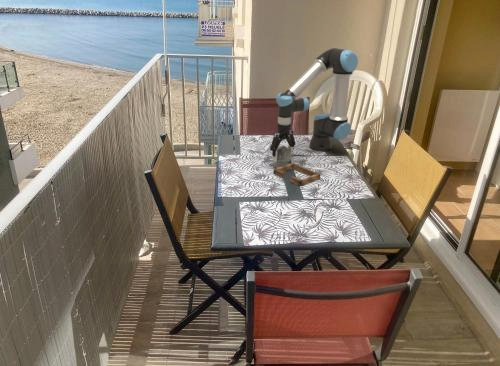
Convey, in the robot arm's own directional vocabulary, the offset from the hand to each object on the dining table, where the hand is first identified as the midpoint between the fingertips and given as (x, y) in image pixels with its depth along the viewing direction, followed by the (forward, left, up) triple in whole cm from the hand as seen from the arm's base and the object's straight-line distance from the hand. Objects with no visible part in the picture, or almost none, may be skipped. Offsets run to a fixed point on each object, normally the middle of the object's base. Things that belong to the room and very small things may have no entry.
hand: (282, 159), depth 246 cm
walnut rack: (+5, +17, -4) cm, 18 cm away
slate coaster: (0, 0, -4) cm, 4 cm away
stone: (-1, 0, -2) cm, 2 cm away
